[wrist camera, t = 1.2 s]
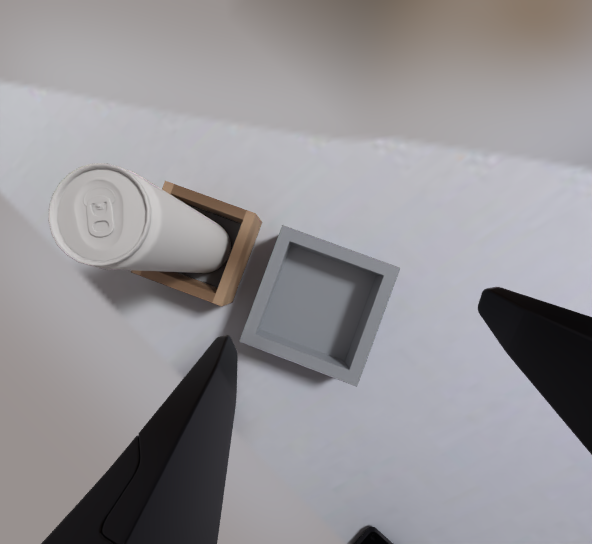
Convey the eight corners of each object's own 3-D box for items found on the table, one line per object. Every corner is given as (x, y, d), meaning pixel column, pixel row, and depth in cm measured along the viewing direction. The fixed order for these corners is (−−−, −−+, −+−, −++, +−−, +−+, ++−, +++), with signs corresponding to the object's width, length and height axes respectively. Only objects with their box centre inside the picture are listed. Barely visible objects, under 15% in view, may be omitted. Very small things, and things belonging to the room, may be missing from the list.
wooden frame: (232, 302, 22) (221, 306, 19) (153, 272, 22) (130, 272, 19) (262, 222, 22) (255, 213, 19) (183, 193, 23) (165, 180, 20)
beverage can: (230, 219, 22) (146, 152, 10) (236, 269, 22) (157, 262, 10) (180, 225, 22) (39, 167, 10) (185, 276, 22) (49, 275, 10)
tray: (349, 371, 22) (356, 386, 19) (247, 332, 22) (239, 341, 19) (386, 269, 22) (400, 267, 19) (285, 232, 22) (282, 225, 19)
